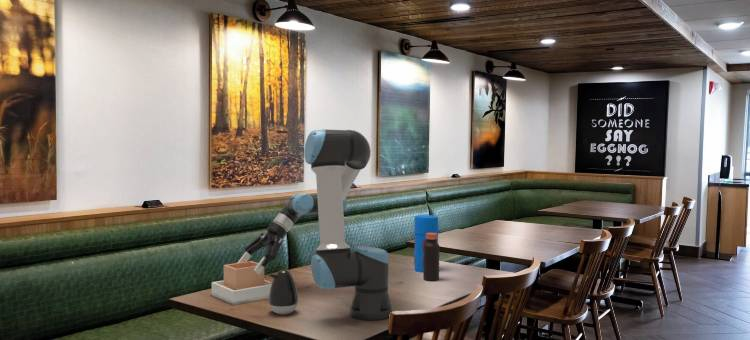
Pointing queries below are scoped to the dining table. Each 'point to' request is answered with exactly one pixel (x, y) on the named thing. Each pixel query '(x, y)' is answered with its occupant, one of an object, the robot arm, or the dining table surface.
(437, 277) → the bottle
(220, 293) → the white tray
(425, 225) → the thermos
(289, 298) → the pump dispenser
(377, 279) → the robot arm
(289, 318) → the dining table surface
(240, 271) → the terracotta crate
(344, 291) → the dining table surface
